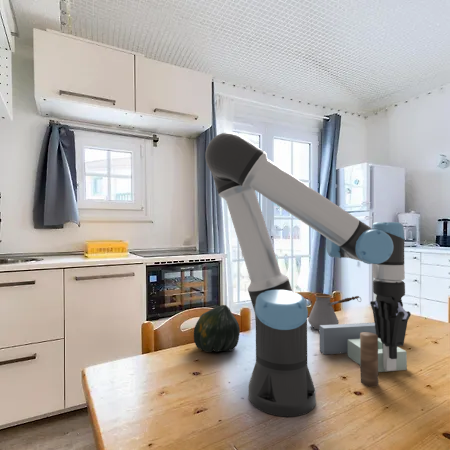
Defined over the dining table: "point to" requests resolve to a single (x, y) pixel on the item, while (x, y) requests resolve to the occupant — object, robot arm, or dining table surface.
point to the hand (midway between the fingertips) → (389, 369)
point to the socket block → (400, 361)
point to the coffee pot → (325, 311)
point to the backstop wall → (341, 336)
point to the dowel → (369, 359)
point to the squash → (217, 330)
